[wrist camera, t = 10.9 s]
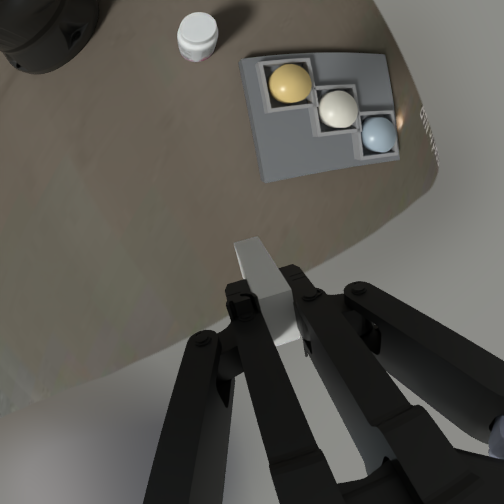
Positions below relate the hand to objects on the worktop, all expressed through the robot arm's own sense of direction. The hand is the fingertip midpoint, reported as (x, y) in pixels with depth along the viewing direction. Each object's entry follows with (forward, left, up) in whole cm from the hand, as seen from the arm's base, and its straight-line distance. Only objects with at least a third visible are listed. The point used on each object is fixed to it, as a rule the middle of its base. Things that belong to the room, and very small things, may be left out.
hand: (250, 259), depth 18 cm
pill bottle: (-20, +1, -25) cm, 32 cm away
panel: (-8, +17, -25) cm, 31 cm away
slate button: (-4, +23, -22) cm, 32 cm away
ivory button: (-8, +17, -22) cm, 29 cm away
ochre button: (-12, +11, -22) cm, 27 cm away
